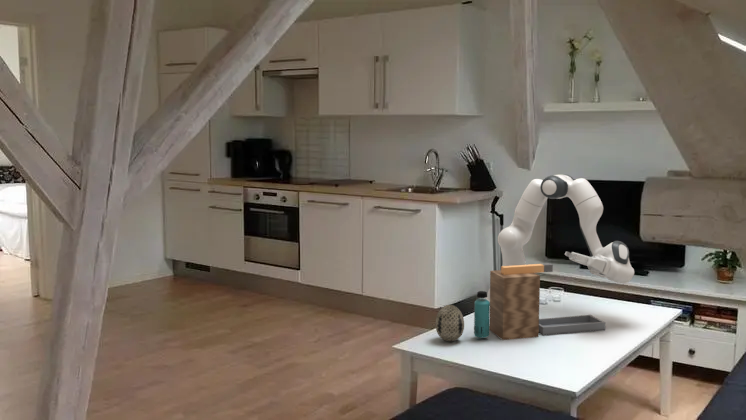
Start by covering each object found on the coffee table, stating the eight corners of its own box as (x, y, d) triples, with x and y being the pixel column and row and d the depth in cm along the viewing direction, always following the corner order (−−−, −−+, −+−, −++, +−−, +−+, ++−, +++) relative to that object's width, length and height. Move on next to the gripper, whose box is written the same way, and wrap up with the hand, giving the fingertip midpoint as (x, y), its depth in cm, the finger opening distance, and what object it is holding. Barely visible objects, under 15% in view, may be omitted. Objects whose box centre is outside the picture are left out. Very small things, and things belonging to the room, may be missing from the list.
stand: (523, 327, 307) (525, 268, 304) (538, 336, 294) (540, 275, 290) (489, 329, 303) (490, 270, 300) (502, 340, 290) (503, 278, 286)
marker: (549, 270, 300) (549, 263, 300) (552, 271, 297) (552, 264, 297) (501, 273, 295) (501, 266, 295) (504, 274, 292) (504, 267, 292)
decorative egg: (429, 340, 290) (429, 304, 288) (449, 334, 298) (449, 299, 296) (450, 347, 281) (450, 310, 279) (470, 341, 289) (470, 305, 287)
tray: (590, 322, 313) (590, 314, 313) (605, 330, 302) (605, 322, 301) (530, 327, 307) (530, 319, 306) (542, 335, 295) (543, 327, 295)
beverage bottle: (489, 336, 295) (489, 289, 292) (490, 341, 288) (490, 293, 285) (473, 336, 295) (473, 289, 293) (473, 341, 289) (474, 293, 286)
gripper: (589, 255, 314) (562, 244, 311) (613, 261, 294) (584, 251, 291) (584, 268, 314) (557, 258, 311) (608, 275, 294) (579, 265, 291)
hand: (570, 254), depth 301 cm, fingers open, 8 cm apart
